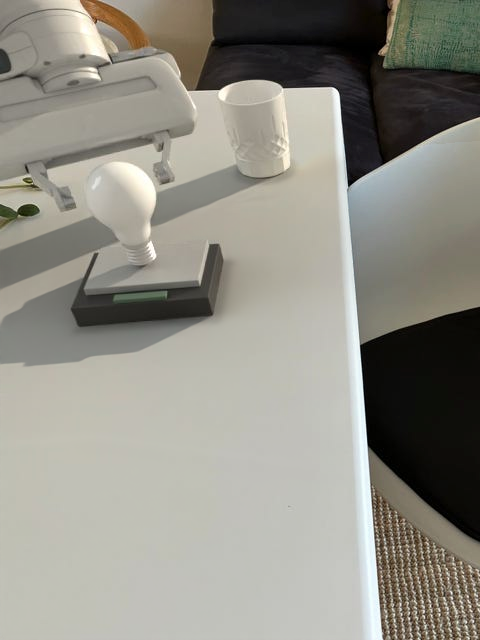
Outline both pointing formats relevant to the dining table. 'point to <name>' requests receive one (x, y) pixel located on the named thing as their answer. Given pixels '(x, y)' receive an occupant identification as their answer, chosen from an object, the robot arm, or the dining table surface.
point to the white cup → (256, 126)
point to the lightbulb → (124, 206)
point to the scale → (150, 284)
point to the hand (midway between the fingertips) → (119, 194)
